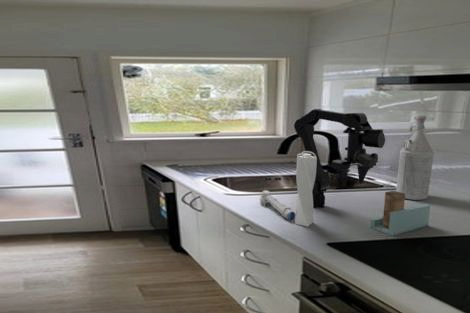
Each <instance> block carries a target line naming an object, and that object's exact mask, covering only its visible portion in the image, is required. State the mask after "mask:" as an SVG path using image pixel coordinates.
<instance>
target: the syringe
mask: <svg viewBox="0 0 470 313" xmlns="http://www.w3.org/2000/svg"><path fill="white" fill-rule="evenodd" d="M259 200H260V202H259V204H260V205H261V206H265V207H267V206H272V207H274V208H275V209H276V211H278V212H279V213H280V214H281V216H282V218H285V219H287V221H288V222H289V221H295V217H296V212H294V211H293V209H292V208H291V207H290V206H289V207H288V206H287V205H285V204H284V203H283V202H281V201H280V200H278V199H277V198H276V197H274V196H273V195H272V194H271V191H269V190H265V189H264V190H263V191H262V192H261V195H260V196H259Z"/></svg>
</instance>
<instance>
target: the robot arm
mask: <svg viewBox="0 0 470 313" xmlns="http://www.w3.org/2000/svg"><path fill="white" fill-rule="evenodd" d="M319 120H322V121H323V120H324V121H330V122H334V123H340V124H341V125H343V126H345V127H346V129H344V130H343V131H342V133H343V134H348V136H347V146H346V147H345V146H344V151H346V157H344V160H343V159H334V160H332V161H331V168H333V170H335V171H336V173H337V175H338V177H339V179H340V182H341V184H342V186H343V187H346V186H347V180H348V173H349V172H350V171H351V169H350V168H351V166H357V174H358V182H359V183H360V184H363V182H364V180H365V179H366V177H367V174H368V172H369V171H370V170H372V169H373V168H374V167H376V166H377V163H378V162H379V155H378V153H376V152H373V153H371V154H370V153H367V149H366V148H365V147H368V148H377V149H382V148H383V147H384V145H385V144H386V138H385V137H386V135H385V134H384V129H381V128H380V129H373V128H372V125H371V124H370V122H369V121H368V116H367V115H366V114H365V113H363V112H347V113H343V112H340V111H339V112H338V111H331V110H324V109H321V108H313V109H311V110H310V111H309V112H308V113H306V114H305V115H303V116H301V117H300V118H298V119H297V120H295V122H294V124H293V128H294V131H295V133H296V135H297V136H298V137H299V138H300V140H301V142H302V144H303V148H304V151H310V152H313V153H314V154H315V155H316V157H317V165H316V176H315V182H314V186H313V190H312V194H313V208H319V209H320V208H323V209H324V208H325V204H326V196H325V193H324V192H327V189H328V188H329V187H330V186H331V180H332V178H331V177H330V173H329V170H325V169H323V166H322V163H321V160H320V156H319V153H318V149H317V146H316V143H315V139H314V135H315V126H316V125H317V124H318V123H319ZM305 153H308V152H305ZM308 154H311V156H313V157H315V156H314V155H313V154H312V153H308Z"/></svg>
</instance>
